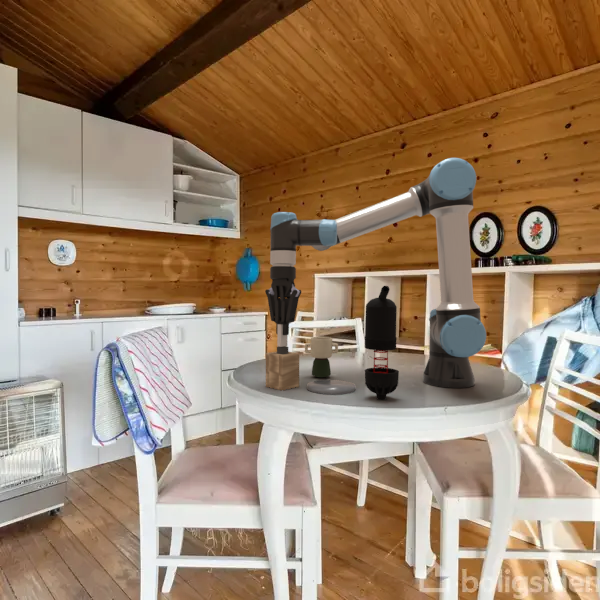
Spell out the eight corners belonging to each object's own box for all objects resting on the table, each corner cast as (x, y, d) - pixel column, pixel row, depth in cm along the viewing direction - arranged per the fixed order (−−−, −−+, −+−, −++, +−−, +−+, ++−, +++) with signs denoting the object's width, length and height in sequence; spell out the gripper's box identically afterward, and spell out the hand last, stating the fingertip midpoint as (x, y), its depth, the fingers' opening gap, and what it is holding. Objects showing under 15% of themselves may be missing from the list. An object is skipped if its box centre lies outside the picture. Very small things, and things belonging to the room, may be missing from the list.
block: (299, 386, 131) (299, 353, 131) (282, 390, 126) (282, 355, 126) (282, 383, 136) (282, 350, 136) (265, 386, 131) (265, 353, 131)
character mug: (337, 375, 149) (337, 336, 149) (338, 379, 142) (338, 339, 142) (304, 374, 150) (304, 336, 149) (304, 379, 142) (304, 338, 142)
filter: (404, 404, 112) (405, 285, 112) (368, 404, 112) (369, 285, 111) (390, 391, 126) (392, 286, 125) (358, 391, 125) (359, 285, 125)
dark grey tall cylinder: (290, 380, 131) (290, 346, 131) (282, 382, 129) (282, 348, 129) (282, 378, 134) (282, 345, 133) (274, 380, 131) (274, 346, 131)
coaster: (364, 388, 129) (365, 384, 129) (335, 397, 119) (335, 392, 119) (327, 381, 139) (327, 377, 139) (297, 388, 129) (297, 384, 129)
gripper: (308, 266, 129) (307, 347, 129) (276, 267, 138) (276, 343, 138) (290, 264, 123) (289, 349, 124) (258, 266, 132) (258, 345, 133)
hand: (282, 346), depth 131 cm, fingers closed
